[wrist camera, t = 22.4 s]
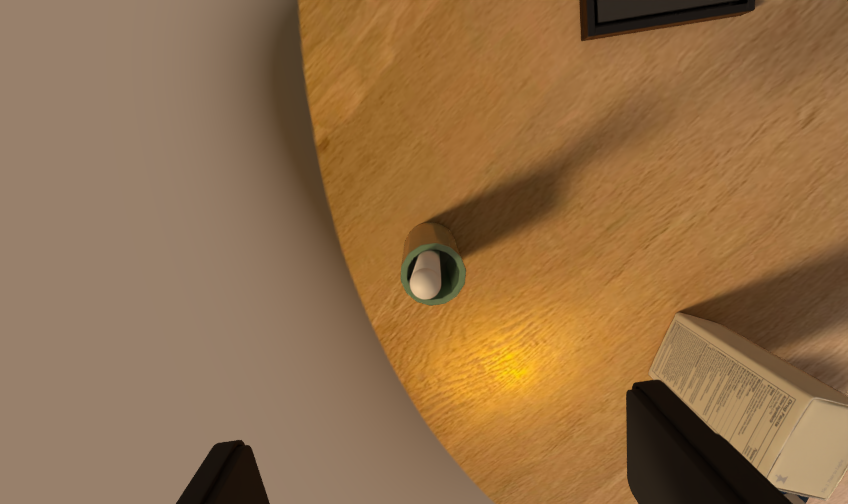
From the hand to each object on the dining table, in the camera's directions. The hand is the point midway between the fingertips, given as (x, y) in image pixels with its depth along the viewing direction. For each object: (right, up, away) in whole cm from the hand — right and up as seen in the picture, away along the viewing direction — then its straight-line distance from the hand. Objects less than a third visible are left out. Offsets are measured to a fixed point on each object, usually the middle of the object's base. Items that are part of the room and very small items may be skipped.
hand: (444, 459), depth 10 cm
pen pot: (0, +6, +22) cm, 22 cm away
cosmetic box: (+22, -3, +24) cm, 33 cm away
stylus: (0, +5, +21) cm, 22 cm away
